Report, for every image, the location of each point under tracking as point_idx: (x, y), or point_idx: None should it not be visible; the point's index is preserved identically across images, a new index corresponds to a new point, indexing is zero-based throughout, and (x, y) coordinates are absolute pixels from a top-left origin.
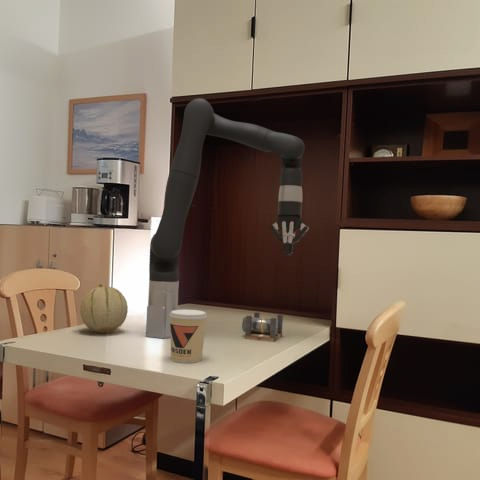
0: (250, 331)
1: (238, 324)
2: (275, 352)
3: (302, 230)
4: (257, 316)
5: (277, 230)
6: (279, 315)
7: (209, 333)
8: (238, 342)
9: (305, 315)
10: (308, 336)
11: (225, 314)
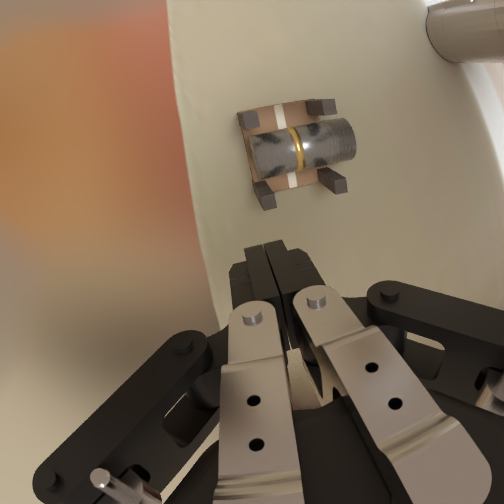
0: (308, 107)
1: (398, 255)
2: (177, 18)
3: (89, 455)
4: (332, 177)
5: (468, 398)
6: (267, 194)
7: (403, 108)
8: (302, 52)
9: None
10: (206, 245)
11: None
